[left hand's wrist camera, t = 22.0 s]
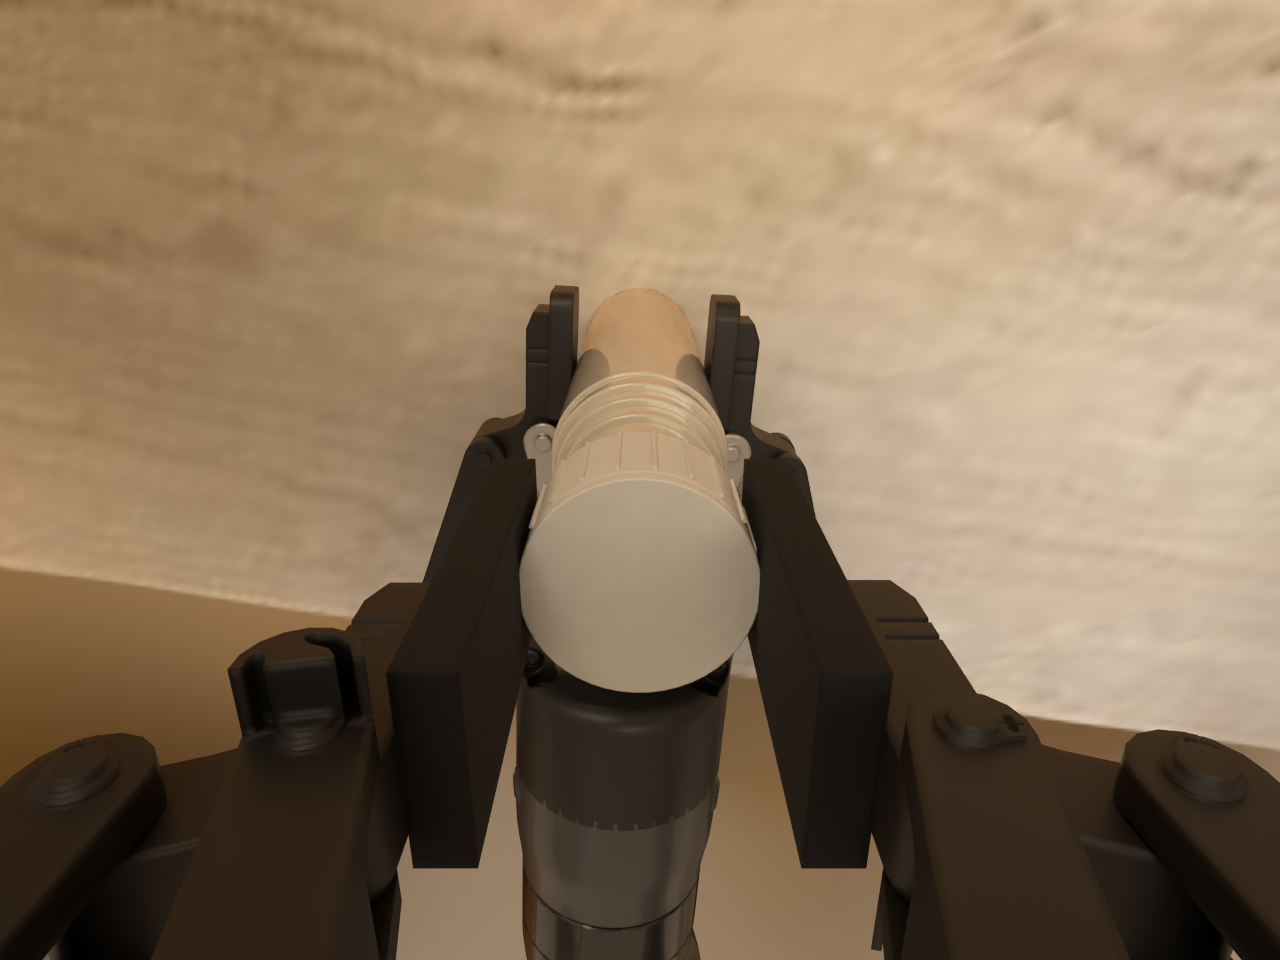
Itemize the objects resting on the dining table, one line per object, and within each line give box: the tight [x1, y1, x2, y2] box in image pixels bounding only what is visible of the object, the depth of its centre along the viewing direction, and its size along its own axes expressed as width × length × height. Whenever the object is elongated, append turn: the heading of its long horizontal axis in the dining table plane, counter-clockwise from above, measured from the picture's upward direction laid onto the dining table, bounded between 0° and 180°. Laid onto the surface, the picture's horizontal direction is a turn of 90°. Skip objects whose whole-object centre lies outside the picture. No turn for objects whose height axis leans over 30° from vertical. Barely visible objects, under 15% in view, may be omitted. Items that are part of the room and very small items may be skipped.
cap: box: [519, 431, 760, 693], centre depth 13 cm, size 4×4×2 cm
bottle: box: [552, 289, 728, 474], centre depth 22 cm, size 4×4×19 cm
